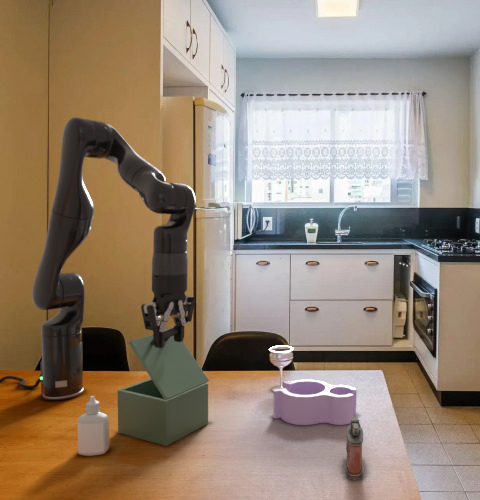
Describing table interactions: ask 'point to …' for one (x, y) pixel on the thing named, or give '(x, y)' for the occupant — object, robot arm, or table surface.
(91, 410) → the eye dropper bottle
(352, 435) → the lighter
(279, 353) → the wineglass
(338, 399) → the clip
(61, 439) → the table surface
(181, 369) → the lid
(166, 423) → the chest
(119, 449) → the table surface
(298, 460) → the table surface
